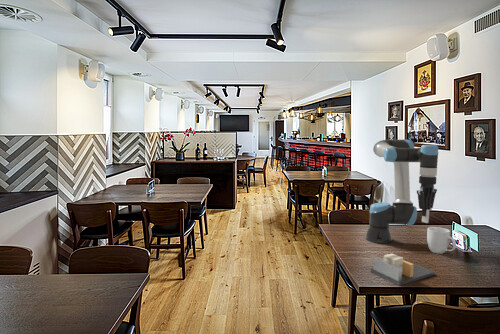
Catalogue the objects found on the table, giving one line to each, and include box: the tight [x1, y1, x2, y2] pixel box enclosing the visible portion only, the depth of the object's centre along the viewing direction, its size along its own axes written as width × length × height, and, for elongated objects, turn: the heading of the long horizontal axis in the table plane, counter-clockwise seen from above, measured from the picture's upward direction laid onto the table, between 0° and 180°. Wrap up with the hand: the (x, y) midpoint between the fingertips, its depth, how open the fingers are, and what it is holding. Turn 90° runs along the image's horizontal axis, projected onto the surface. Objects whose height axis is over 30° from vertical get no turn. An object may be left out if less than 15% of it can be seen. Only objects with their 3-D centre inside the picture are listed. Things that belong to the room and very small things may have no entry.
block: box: [382, 253, 404, 272], centre depth 150 cm, size 6×6×8 cm
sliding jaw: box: [385, 253, 415, 278], centre depth 152 cm, size 14×2×6 cm, turn 27°
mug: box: [426, 226, 457, 255], centre depth 180 cm, size 15×11×13 cm
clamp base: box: [370, 256, 436, 287], centre depth 153 cm, size 16×25×8 cm, turn 117°
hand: (425, 222), depth 162 cm, fingers closed
